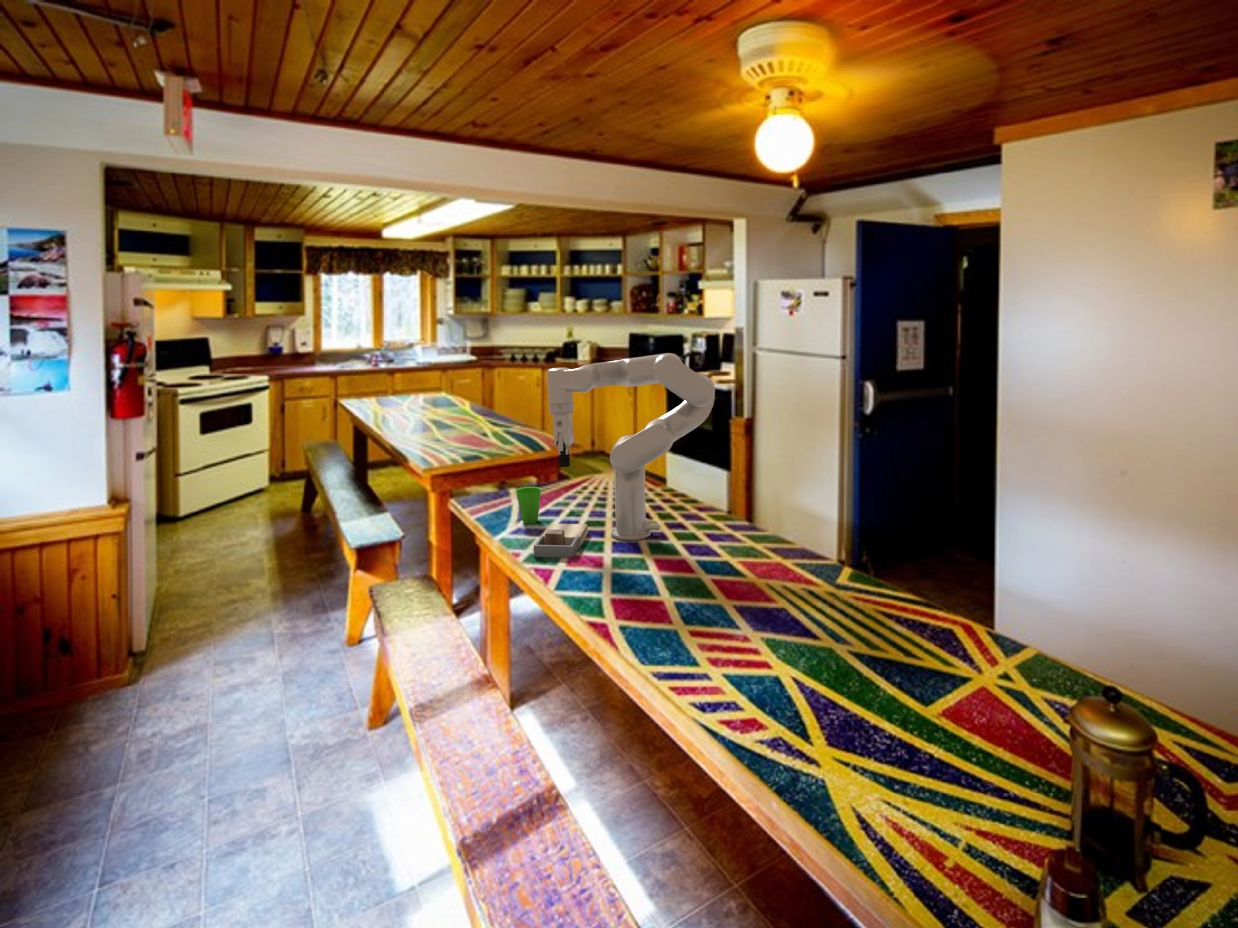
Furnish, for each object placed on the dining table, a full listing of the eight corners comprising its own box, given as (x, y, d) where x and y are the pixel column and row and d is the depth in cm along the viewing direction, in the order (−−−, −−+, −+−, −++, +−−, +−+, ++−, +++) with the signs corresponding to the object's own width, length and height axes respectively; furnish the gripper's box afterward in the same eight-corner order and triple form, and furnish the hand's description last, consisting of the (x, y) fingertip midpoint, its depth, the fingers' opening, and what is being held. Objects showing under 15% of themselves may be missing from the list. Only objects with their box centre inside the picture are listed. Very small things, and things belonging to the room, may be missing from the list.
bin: (579, 547, 217) (578, 536, 217) (573, 557, 208) (572, 546, 208) (541, 546, 219) (541, 535, 218) (534, 556, 210) (533, 545, 209)
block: (564, 529, 216) (561, 533, 212) (564, 545, 217) (561, 549, 214) (548, 529, 217) (544, 533, 213) (548, 544, 218) (545, 549, 214)
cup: (532, 526, 238) (530, 494, 236) (511, 523, 243) (509, 491, 240) (548, 519, 246) (547, 488, 243) (528, 516, 250) (526, 485, 248)
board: (587, 533, 230) (587, 524, 229) (580, 546, 218) (579, 537, 217) (551, 532, 232) (550, 523, 231) (541, 545, 219) (540, 536, 219)
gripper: (569, 411, 213) (573, 471, 218) (577, 404, 228) (580, 460, 232) (544, 412, 214) (548, 472, 218) (553, 405, 229) (557, 461, 233)
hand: (564, 466), depth 225 cm, fingers closed
